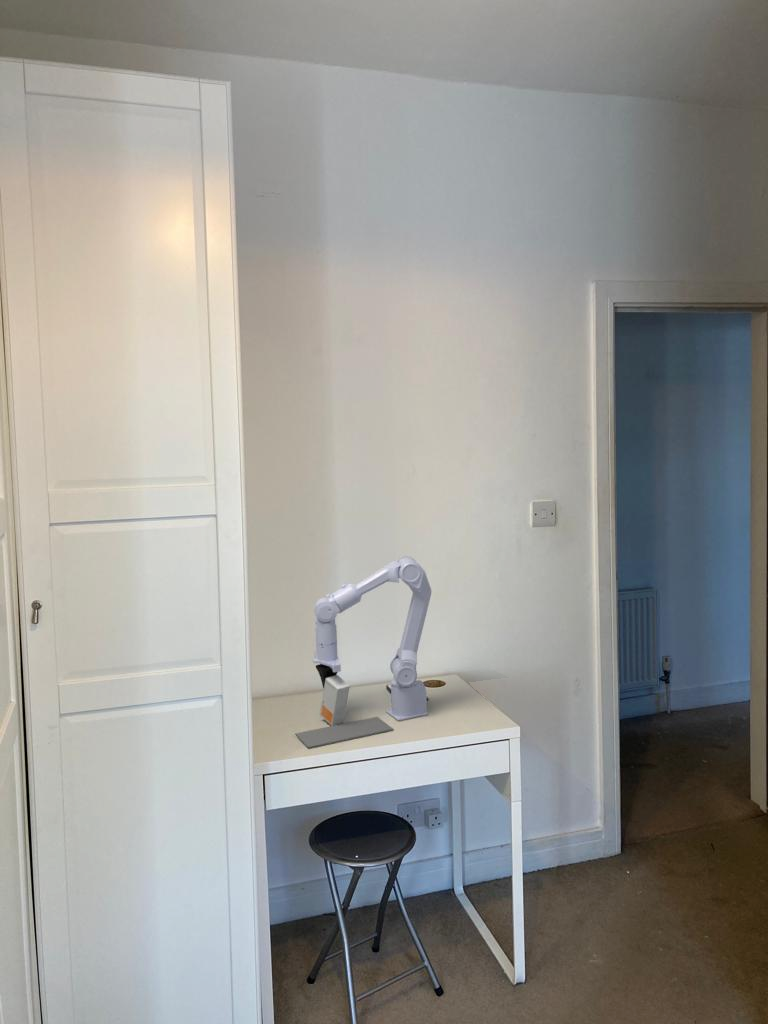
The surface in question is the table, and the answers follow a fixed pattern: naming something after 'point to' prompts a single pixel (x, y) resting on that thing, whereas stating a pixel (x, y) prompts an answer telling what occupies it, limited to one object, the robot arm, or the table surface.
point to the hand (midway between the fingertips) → (328, 690)
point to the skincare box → (334, 700)
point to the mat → (343, 732)
